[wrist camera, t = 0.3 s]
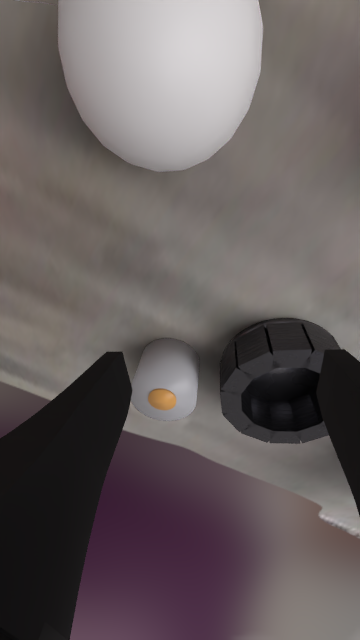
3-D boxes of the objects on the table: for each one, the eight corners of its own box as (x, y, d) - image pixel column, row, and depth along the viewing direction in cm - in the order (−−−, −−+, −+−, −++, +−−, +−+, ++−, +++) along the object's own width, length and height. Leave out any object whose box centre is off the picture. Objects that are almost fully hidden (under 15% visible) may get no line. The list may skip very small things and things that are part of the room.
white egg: (288, 28, 12) (356, -80, 6) (202, 191, 16) (193, 223, 10) (71, -134, 11) (-123, -490, 5) (33, 90, 15) (-100, 56, 9)
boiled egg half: (211, 368, 23) (209, 409, 20) (166, 390, 25) (158, 430, 22) (174, 327, 22) (166, 364, 18) (130, 354, 24) (114, 392, 20)
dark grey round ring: (360, 380, 22) (382, 418, 19) (257, 418, 26) (262, 455, 23) (308, 295, 19) (324, 325, 16) (198, 353, 23) (195, 386, 20)
